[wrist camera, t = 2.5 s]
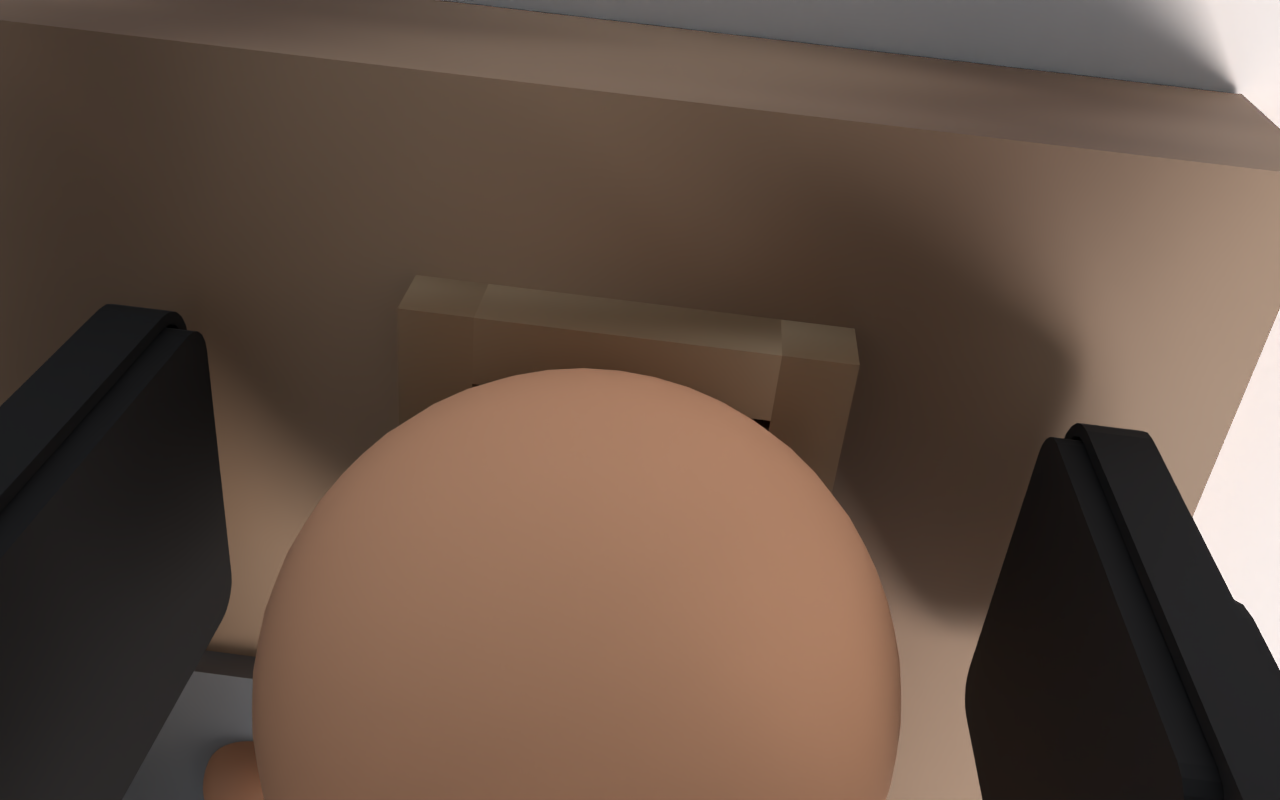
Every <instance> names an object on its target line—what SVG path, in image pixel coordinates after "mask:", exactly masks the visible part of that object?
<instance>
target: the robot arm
mask: <svg viewBox="0 0 1280 800" xmlns="http://www.w3.org/2000/svg"><path fill="white" fill-rule="evenodd" d="M231 586H232V573H231V564H230V555H229V546H228V537H227V528H226V519H225V510H224V500H223V491H222V482H221V473H220V464H219V455H218V446H217V436H216V427H215V418H214V409H213V400H212V391H211V382H210V372H209V363H208V354H207V347H206V342H205V340H204V337H203V335H202V334H201V333H199V332H198V331H191V330H187V327H186V324H185V322H184V320H183V318H182V316H181V315H180V314H178V313H177V312H175V311H167V310H159V309H151V308H143V307H135V306H126V305H118V304H106V305H104V306H103V307H101V308H100V309H99V310H98V311H97V312H95V313H94V314H93V315H92V316H91V317H90V318H89V319H88V320H87V321H86V322H85V323H84V324H83V325H82V326H81V327H80V328H79V329H78V330H77V331H76V332H75V333H74V334H73V335H72V336H71V337H70V338H69V339H68V340H67V341H66V342H65V343H64V344H63V345H62V346H61V347H60V348H59V349H58V350H57V351H56V352H55V353H54V354H53V355H52V356H51V357H50V358H49V359H48V360H47V361H46V362H45V363H44V364H43V365H42V366H41V367H40V368H39V369H38V370H37V371H36V372H35V373H34V374H33V375H32V376H31V377H30V378H29V379H27V380H26V381H25V382H24V383H23V384H22V385H21V386H20V387H19V388H18V389H17V390H16V391H15V392H14V393H13V394H12V395H11V396H10V397H9V398H8V399H7V400H6V401H5V402H4V403H3V404H2V405H1V406H0V800H122V799H123V797H124V795H125V793H126V792H127V790H128V788H129V786H130V785H131V783H132V781H133V779H134V777H135V776H136V774H137V772H138V770H139V768H140V767H141V765H142V763H143V761H144V759H145V758H146V756H147V754H148V752H149V751H150V749H151V747H152V745H153V743H154V742H155V740H156V738H157V736H158V734H159V733H160V731H161V729H162V727H163V725H164V724H165V722H166V720H167V718H168V716H169V715H170V713H171V711H172V709H173V708H174V706H175V704H176V702H177V700H178V699H179V697H180V695H181V693H182V691H183V690H184V688H185V686H186V684H187V682H188V681H189V679H190V677H191V675H192V674H193V672H194V670H195V668H196V666H197V665H198V663H199V661H200V659H201V657H202V656H203V654H204V652H205V650H206V648H207V647H208V645H209V643H210V641H211V639H212V638H213V636H214V634H215V632H216V631H217V629H218V627H219V625H220V623H221V622H222V620H223V617H224V615H225V613H226V610H227V607H228V604H229V599H230V594H231ZM965 711H966V718H967V723H968V729H969V734H970V739H971V744H972V749H973V754H974V759H975V764H976V769H977V775H978V780H979V785H980V790H981V795H982V800H1280V670H1279V668H1278V666H1277V664H1276V662H1275V660H1274V658H1273V656H1272V654H1271V652H1270V650H1269V649H1268V647H1267V645H1266V643H1265V641H1264V639H1263V637H1262V635H1261V633H1260V631H1259V629H1258V627H1257V625H1256V623H1255V621H1254V619H1253V618H1252V616H1251V615H1250V614H1249V612H1248V611H1247V610H1246V608H1245V607H1244V605H1243V604H1241V603H1239V602H1237V601H1235V600H1234V599H1233V597H1232V595H1231V593H1230V591H1229V589H1228V587H1227V585H1226V583H1225V581H1224V579H1223V577H1222V575H1221V573H1220V571H1219V570H1218V568H1217V566H1216V564H1215V562H1214V560H1213V558H1212V556H1211V554H1210V552H1209V550H1208V548H1207V546H1206V544H1205V542H1204V540H1203V538H1202V536H1201V534H1200V532H1199V530H1198V528H1197V526H1196V524H1195V522H1194V520H1193V518H1192V516H1191V514H1190V512H1189V510H1188V508H1187V506H1186V504H1185V502H1184V500H1183V498H1182V496H1181V494H1180V492H1179V490H1178V488H1177V486H1176V484H1175V482H1174V480H1173V478H1172V476H1171V474H1170V472H1169V470H1168V468H1167V466H1166V464H1165V462H1164V460H1163V458H1162V456H1161V454H1160V452H1159V450H1158V448H1157V446H1156V444H1155V443H1154V441H1153V439H1152V437H1151V436H1150V435H1149V434H1148V432H1144V431H1140V430H1132V429H1124V428H1115V427H1107V426H1099V425H1091V424H1083V423H1076V424H1074V425H1073V426H1071V427H1070V429H1069V430H1068V432H1067V433H1066V435H1065V437H1064V438H1056V437H1049V438H1047V439H1046V440H1045V441H1044V443H1043V444H1042V446H1041V449H1040V451H1039V454H1038V457H1037V460H1036V463H1035V466H1034V469H1033V472H1032V475H1031V479H1030V482H1029V485H1028V488H1027V491H1026V494H1025V497H1024V500H1023V503H1022V506H1021V509H1020V513H1019V516H1018V519H1017V522H1016V525H1015V528H1014V531H1013V534H1012V537H1011V540H1010V543H1009V547H1008V550H1007V553H1006V556H1005V559H1004V562H1003V565H1002V568H1001V571H1000V574H999V578H998V581H997V584H996V587H995V590H994V593H993V596H992V599H991V602H990V605H989V608H988V612H987V615H986V618H985V621H984V624H983V627H982V630H981V633H980V636H979V639H978V642H977V646H976V649H975V652H974V655H973V658H972V661H971V664H970V667H969V671H968V675H967V680H966V687H965Z"/></svg>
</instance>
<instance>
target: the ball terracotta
mask: <svg viewBox="0 0 1280 800" xmlns="http://www.w3.org/2000/svg"><path fill="white" fill-rule="evenodd" d="M900 727H901V677H900V660H899V654H898V648H897V642H896V636H895V630H894V626H893V622H892V618H891V613H890V609H889V605H888V601H887V598H886V595H885V592H884V590H883V587H882V584H881V581H880V578H879V576H878V573H877V570H876V568H875V566H874V564H873V561H872V559H871V557H870V555H869V553H868V551H867V549H866V546H865V545H864V543H863V541H862V539H861V537H860V535H859V534H858V532H857V530H856V528H855V526H854V524H853V523H852V521H851V519H850V517H849V516H848V514H847V513H846V512H845V511H844V509H843V508H842V507H841V505H840V504H839V503H838V501H837V500H836V499H835V497H834V496H833V495H832V493H831V492H830V491H829V490H828V488H827V487H826V486H825V484H824V483H823V482H822V481H821V479H820V478H819V477H818V475H817V474H816V473H815V472H814V471H813V470H812V469H811V468H810V467H809V466H808V465H807V464H806V463H805V462H804V461H803V460H802V459H801V458H800V457H799V456H798V455H797V454H796V453H795V452H794V451H793V450H792V449H791V448H790V447H789V446H787V445H786V444H785V443H783V442H782V441H781V440H779V439H778V438H777V437H775V436H774V435H773V434H771V433H770V432H769V431H767V430H766V429H765V428H763V427H762V426H761V425H759V424H758V423H756V422H755V421H754V420H752V419H751V418H749V417H747V416H746V415H744V414H742V413H740V412H739V411H737V410H735V409H734V408H732V407H730V406H728V405H727V404H725V403H723V402H721V401H719V400H717V399H715V398H712V397H710V396H708V395H706V394H703V393H701V392H699V391H696V390H694V389H692V388H689V387H686V386H683V385H680V384H676V383H673V382H670V381H666V380H663V379H660V378H656V377H652V376H647V375H641V374H636V373H630V372H625V371H619V370H604V369H589V368H576V369H555V370H544V371H538V372H532V373H526V374H520V375H514V376H511V377H507V378H503V379H499V380H496V381H493V382H489V383H486V384H483V385H479V386H476V387H473V388H469V389H466V390H464V391H462V392H459V393H457V394H455V395H453V396H450V397H448V398H446V399H444V400H441V401H439V402H437V403H435V404H433V405H431V406H430V407H428V408H427V409H425V410H423V411H422V412H420V413H418V414H417V415H415V416H414V417H412V418H410V419H409V420H407V421H406V422H404V423H402V424H401V425H399V426H398V427H396V428H394V429H393V430H391V431H390V432H388V433H387V434H385V435H384V436H383V437H382V438H381V439H379V440H378V441H377V442H376V443H375V444H374V445H372V446H371V447H370V448H369V449H368V450H367V451H365V452H364V453H363V454H362V455H361V456H360V457H359V458H358V459H357V460H356V461H355V462H354V463H353V464H352V465H351V466H350V467H349V468H348V469H347V470H346V471H345V472H344V473H343V474H342V475H341V476H340V477H339V478H338V480H337V481H336V482H335V483H334V484H333V485H332V487H331V488H330V489H329V490H328V491H327V492H326V494H325V495H324V496H323V497H322V498H321V500H320V501H319V503H318V504H317V506H316V507H315V509H314V510H313V512H312V513H311V515H310V516H309V518H308V519H307V521H306V522H305V524H304V526H303V527H302V529H301V531H300V532H299V534H298V536H297V537H296V539H295V541H294V542H293V544H292V546H291V547H290V549H289V551H288V553H287V555H286V558H285V560H284V562H283V565H282V567H281V570H280V572H279V575H278V577H277V579H276V582H275V585H274V587H273V590H272V593H271V595H270V598H269V601H268V603H267V606H266V609H265V612H264V617H263V622H262V626H261V631H260V636H259V641H258V646H257V652H256V658H255V663H254V669H253V689H252V735H253V742H254V748H255V754H256V761H257V767H258V772H259V777H260V782H261V787H262V792H263V797H264V800H886V798H887V795H888V792H889V789H890V786H891V781H892V776H893V771H894V766H895V761H896V755H897V748H898V741H899V734H900Z"/></svg>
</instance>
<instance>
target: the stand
mask: <svg viewBox="0 0 1280 800" xmlns="http://www.w3.org/2000/svg"><path fill="white" fill-rule="evenodd" d="M106 304H118V305H126V306H135V307H143V308H151V309H159V310H167V311H175V312H177V313H178V314H180V315H181V316H182V318H183V320H184V322H185V324H186V327H187V330H191V331H198V332H199V333H201V334H202V335H203V337H204V340H205V342H206V347H207V354H208V363H209V372H210V382H211V391H212V400H213V409H214V418H215V427H216V436H217V446H218V455H219V464H220V473H221V482H222V491H223V500H224V510H225V519H226V528H227V537H228V546H229V555H230V564H231V573H232V586H231V594H230V599H229V604H228V607H227V610H226V613H225V615H224V617H223V620H222V622H221V623H220V625H219V627H218V629H217V631H216V632H215V634H214V636H213V638H212V639H211V641H210V643H209V645H208V647H207V648H206V650H205V652H204V654H203V656H202V657H201V659H200V661H199V663H198V665H197V666H196V668H195V670H194V672H193V674H192V675H191V677H190V679H189V681H188V682H187V684H186V686H185V688H184V690H183V691H182V693H181V695H180V697H179V699H178V700H177V702H176V704H175V706H174V708H173V709H172V711H171V713H170V715H169V716H168V718H167V720H166V722H165V724H164V725H163V727H162V729H161V731H160V733H159V734H158V736H157V738H156V740H155V742H154V743H153V745H152V747H151V749H150V751H149V752H148V754H147V756H146V758H145V759H144V761H143V763H142V765H141V767H140V768H139V770H138V772H137V774H136V776H135V777H134V779H133V781H132V783H131V785H130V786H129V788H128V790H127V792H126V793H125V795H124V797H123V799H122V800H264V797H263V792H262V787H261V782H260V777H259V772H258V767H257V761H256V754H255V748H254V742H253V735H252V689H253V669H254V663H255V658H256V652H257V646H258V641H259V636H260V631H261V626H262V622H263V617H264V612H265V609H266V606H267V603H268V601H269V598H270V595H271V593H272V590H273V587H274V585H275V582H276V579H277V577H278V575H279V572H280V570H281V567H282V565H283V562H284V560H285V558H286V555H287V553H288V551H289V549H290V547H291V546H292V544H293V542H294V541H295V539H296V537H297V536H298V534H299V532H300V531H301V529H302V527H303V526H304V524H305V522H306V521H307V519H308V518H309V516H310V515H311V513H312V512H313V510H314V509H315V507H316V506H317V504H318V503H319V501H320V500H321V498H322V497H323V496H324V495H325V494H326V492H327V491H328V490H329V489H330V488H331V487H332V485H333V484H334V483H335V482H336V481H337V480H338V478H339V477H340V476H341V475H342V474H343V473H344V472H345V471H346V470H347V469H348V468H349V467H350V466H351V465H352V464H353V463H354V462H355V461H356V460H357V459H358V458H359V457H360V456H361V455H362V454H363V453H364V452H365V451H367V450H368V449H369V448H370V447H371V446H372V445H374V444H375V443H376V442H377V441H378V440H379V439H381V438H382V437H383V436H384V435H385V434H387V433H388V432H390V431H391V430H393V429H394V428H396V427H398V426H399V425H401V424H402V423H404V422H406V421H407V420H409V419H410V418H412V417H414V416H415V415H417V414H418V413H420V412H422V411H423V410H425V409H427V408H428V407H430V406H431V405H433V404H435V403H437V402H439V401H441V400H444V399H446V398H448V397H450V396H453V395H455V394H457V393H459V392H462V391H464V390H466V389H469V388H473V387H476V386H479V385H483V384H486V383H489V382H493V381H496V380H499V379H503V378H507V377H511V376H514V375H520V374H526V373H532V372H538V371H544V370H555V369H576V368H589V369H604V370H619V371H625V372H630V373H636V374H641V375H647V376H652V377H656V378H660V379H663V380H666V381H670V382H673V383H676V384H680V385H683V386H686V387H689V388H692V389H694V390H696V391H699V392H701V393H703V394H706V395H708V396H710V397H712V398H715V399H717V400H719V401H721V402H723V403H725V404H727V405H728V406H730V407H732V408H734V409H735V410H737V411H739V412H740V413H742V414H744V415H746V416H747V417H749V418H751V419H752V420H754V421H755V422H756V423H758V424H759V425H761V426H762V427H763V428H765V429H766V430H767V431H769V432H770V433H771V434H773V435H774V436H775V437H777V438H778V439H779V440H781V441H782V442H783V443H785V444H786V445H787V446H789V447H790V448H791V449H792V450H793V451H794V452H795V453H796V454H797V455H798V456H799V457H800V458H801V459H802V460H803V461H804V462H805V463H806V464H807V465H808V466H809V467H810V468H811V469H812V470H813V471H814V472H815V473H816V474H817V475H818V477H819V478H820V479H821V481H822V482H823V483H824V484H825V486H826V487H827V488H828V490H829V491H830V492H831V493H832V495H833V496H834V497H835V499H836V500H837V501H838V503H839V504H840V505H841V507H842V508H843V509H844V511H845V512H846V513H847V514H848V516H849V517H850V519H851V521H852V523H853V524H854V526H855V528H856V530H857V532H858V534H859V535H860V537H861V539H862V541H863V543H864V545H865V546H866V549H867V551H868V553H869V555H870V557H871V559H872V561H873V564H874V566H875V568H876V570H877V573H878V576H879V578H880V581H881V584H882V587H883V590H884V592H885V595H886V598H887V601H888V605H889V609H890V613H891V618H892V622H893V626H894V630H895V636H896V642H897V648H898V654H899V660H900V677H901V727H900V734H899V741H898V748H897V755H896V761H895V766H894V771H893V776H892V781H891V786H890V789H889V792H888V795H887V798H886V800H982V795H981V790H980V785H979V780H978V775H977V769H976V764H975V759H974V754H973V749H972V744H971V739H970V734H969V729H968V723H967V718H966V711H965V687H966V680H967V675H968V671H969V667H970V664H971V661H972V658H973V655H974V652H975V649H976V646H977V642H978V639H979V636H980V633H981V630H982V627H983V624H984V621H985V618H986V615H987V612H988V608H989V605H990V602H991V599H992V596H993V593H994V590H995V587H996V584H997V581H998V578H999V574H1000V571H1001V568H1002V565H1003V562H1004V559H1005V556H1006V553H1007V550H1008V547H1009V543H1010V540H1011V537H1012V534H1013V531H1014V528H1015V525H1016V522H1017V519H1018V516H1019V513H1020V509H1021V506H1022V503H1023V500H1024V497H1025V494H1026V491H1027V488H1028V485H1029V482H1030V479H1031V475H1032V472H1033V469H1034V466H1035V463H1036V460H1037V457H1038V454H1039V451H1040V449H1041V446H1042V444H1043V443H1044V441H1045V440H1046V439H1047V438H1049V437H1056V438H1064V437H1065V435H1066V433H1067V432H1068V430H1069V429H1070V427H1071V426H1073V425H1074V424H1076V423H1083V424H1091V425H1099V426H1107V427H1115V428H1124V429H1132V430H1140V431H1144V432H1148V434H1149V435H1150V436H1151V437H1152V439H1153V441H1154V443H1155V444H1156V446H1157V448H1158V450H1159V452H1160V454H1161V456H1162V458H1163V460H1164V462H1165V464H1166V466H1167V468H1168V470H1169V472H1170V474H1171V476H1172V478H1173V480H1174V482H1175V484H1176V486H1177V488H1178V490H1179V492H1180V494H1181V496H1182V498H1183V500H1184V502H1185V504H1186V506H1187V508H1188V510H1189V512H1190V514H1191V516H1192V517H1193V514H1194V512H1195V510H1196V507H1197V505H1198V502H1199V500H1200V498H1201V495H1202V493H1203V490H1204V488H1205V486H1206V483H1207V481H1208V478H1209V476H1210V474H1211V471H1212V469H1213V467H1214V464H1215V462H1216V459H1217V457H1218V455H1219V452H1220V450H1221V447H1222V445H1223V443H1224V440H1225V438H1226V435H1227V433H1228V431H1229V428H1230V426H1231V424H1232V421H1233V419H1234V416H1235V414H1236V412H1237V409H1238V407H1239V404H1240V402H1241V400H1242V397H1243V395H1244V392H1245V390H1246V388H1247V385H1248V383H1249V381H1250V378H1251V376H1252V373H1253V371H1254V369H1255V366H1256V364H1257V361H1258V359H1259V357H1260V354H1261V352H1262V350H1263V347H1264V345H1265V342H1266V340H1267V338H1268V335H1269V333H1270V330H1271V328H1272V326H1273V323H1274V321H1275V318H1276V316H1277V314H1278V311H1279V309H1280V129H1279V128H1278V127H1277V126H1276V125H1275V124H1274V123H1273V122H1272V121H1271V120H1270V119H1268V118H1267V117H1266V116H1265V115H1264V114H1263V113H1262V112H1261V111H1260V110H1259V109H1257V108H1256V107H1255V106H1254V105H1253V104H1252V103H1251V102H1250V101H1249V100H1248V99H1246V98H1245V97H1244V96H1243V95H1242V94H1234V93H1226V92H1217V91H1208V90H1200V89H1191V88H1183V87H1174V86H1166V85H1157V84H1149V83H1140V82H1132V81H1123V80H1115V79H1106V78H1098V77H1089V76H1080V75H1072V74H1063V73H1055V72H1046V71H1038V70H1029V69H1021V68H1012V67H1004V66H995V65H987V64H978V63H969V62H961V61H952V60H944V59H935V58H927V57H918V56H910V55H901V54H893V53H884V52H876V51H867V50H858V49H850V48H841V47H833V46H824V45H816V44H807V43H799V42H790V41H782V40H773V39H765V38H756V37H748V36H739V35H730V34H722V33H713V32H705V31H696V30H688V29H679V28H671V27H662V26H654V25H645V24H637V23H628V22H619V21H611V20H602V19H594V18H585V17H577V16H568V15H560V14H551V13H543V12H534V11H526V10H517V9H508V8H500V7H491V6H483V5H474V4H466V3H457V2H449V1H440V0H0V406H1V405H2V404H3V403H4V402H5V401H6V400H7V399H8V398H9V397H10V396H11V395H12V394H13V393H14V392H15V391H16V390H17V389H18V388H19V387H20V386H21V385H22V384H23V383H24V382H25V381H26V380H27V379H29V378H30V377H31V376H32V375H33V374H34V373H35V372H36V371H37V370H38V369H39V368H40V367H41V366H42V365H43V364H44V363H45V362H46V361H47V360H48V359H49V358H50V357H51V356H52V355H53V354H54V353H55V352H56V351H57V350H58V349H59V348H60V347H61V346H62V345H63V344H64V343H65V342H66V341H67V340H68V339H69V338H70V337H71V336H72V335H73V334H74V333H75V332H76V331H77V330H78V329H79V328H80V327H81V326H82V325H83V324H84V323H85V322H86V321H87V320H88V319H89V318H90V317H91V316H92V315H93V314H94V313H95V312H97V311H98V310H99V309H100V308H101V307H103V306H104V305H106Z"/></svg>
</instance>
